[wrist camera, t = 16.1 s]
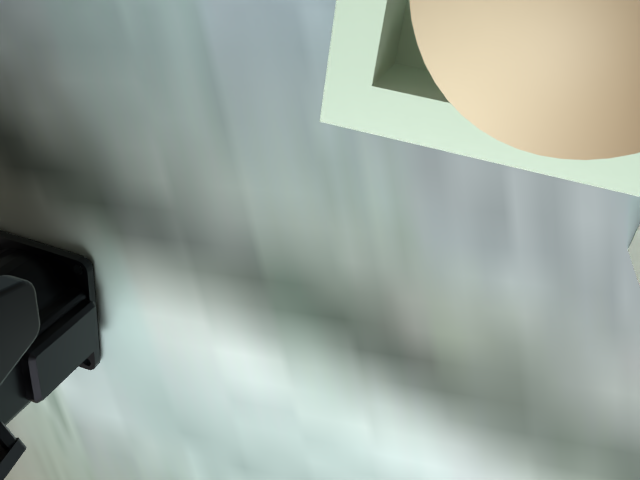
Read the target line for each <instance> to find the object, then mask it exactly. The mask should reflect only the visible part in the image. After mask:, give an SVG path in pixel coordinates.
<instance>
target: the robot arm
mask: <svg viewBox="0 0 640 480" xmlns="http://www.w3.org/2000/svg"><path fill="white" fill-rule="evenodd" d="M80 267H81V268H82V269H81V268H80ZM99 363H100V349H99V336H98V324H97V311H96V298H95V285H94V273H93V266H92V264H91V262H90V261H89V260H88V259H87V258H86V257H84V256H81V255H78V254H74V253H71V252H68V251H65V250H62V249H58V248H55V247H52V246H49V245H45V244H42V243H39V242H36V241H33V240H29V239H26V238H23V237H20V236H17V235H13V234H10V233H7V232H4V231H0V480H4V478H5V477H6V476H7V474H8V473H9V472H10V470H11V469H12V467H13V466H14V465H15V463H16V462H17V461H18V459H19V458H20V456H21V455H22V454H23V452H24V451H25V450H26V446H25V445H24V444H23V442H22V441H21V440H20V439H19V438H15V437H14V435H13V434H12V433H11V432H10V430H9V429H8V428H7V427H6V425H7V424H8V423H9V422H10V421H11V420H12V419H13V418H14V417H15V416H16V415H17V414H18V413H19V412H20V411H21V410H23V409H24V408H25V407H26V406H27V405H28V404H29V403H30V402H31V401H32V402H35V403H39V402H40V401H42V400H44V399H45V398H46V397H47V396H48V395H49V394H50V393H51V392H52V391H53V390H54V389H55V388H56V387H57V386H58V385H59V384H60V383H61V382H63V381H64V380H65V379H66V378H67V377H68V376H69V375H70V374H71V373H72V372H73V371H74V370H75V369H76V368H77V367H78V366H79V367H82V368H85V369H88V370H92V369H94V368H95V367H96V366H97V365H98V364H99Z"/></svg>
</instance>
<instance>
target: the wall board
mask: <svg viewBox="0 0 640 480" xmlns="http://www.w3.org/2000/svg"><path fill="white" fill-rule="evenodd" d="M628 252H629V255H630V258H631V261H632V264H633V267H634V270H635V273H636V276H637V280H638V283H639V286H640V225H639V227H638V229H637V231H636V233H635V235H634V238H633V240H632V242H631V244H630V246H629V248H628Z"/></svg>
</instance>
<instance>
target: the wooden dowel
mask: <svg viewBox="0 0 640 480" xmlns="http://www.w3.org/2000/svg"><path fill="white" fill-rule="evenodd" d="M409 2H410V11H411V20H412V24H413V29H414V33H415V37H416V41H417V44H418V47H419V50H420V52H421V55H422V58H423V60H424V63H425V65H426V67H427V69H428V71H429V72H430V74H431V76H432V78H433V80H434V82H435V83H436V85H437V86H438V88H439V89H440V90H441V92H442V93H443V94H444V96H445V97H446V99H447V100H448V101H449V102H450V103H451V104H452V105H453V106H454V107H455V108H456V110H457V111H458V112H459V113H460V114H461V115H462V116H463V117H465V118H466V119H467V120H468V121H470V122H471V123H472V124H473V125H475V126H476V127H477V128H478V129H480V130H481V131H483V132H485V133H486V134H488V135H490V136H491V137H493V138H495V139H496V140H498V141H500V142H503V143H505V144H507V145H510V146H512V147H514V148H517V149H519V150H523V151H526V152H530V153H533V154H536V155H540V156H547V157H553V158H559V159H573V160H594V159H608V158H615V157H620V156H626V155H631V154H636V153H640V0H409Z"/></svg>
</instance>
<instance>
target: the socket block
mask: <svg viewBox="0 0 640 480" xmlns="http://www.w3.org/2000/svg"><path fill="white" fill-rule="evenodd" d="M320 122H323V123H328V124H332V125H336V126H340V127H345V128H349V129H353V130H357V131H362V132H366V133H370V134H374V135H379V136H383V137H387V138H391V139H396V140H400V141H404V142H409V143H413V144H417V145H421V146H426V147H430V148H434V149H438V150H443V151H447V152H451V153H455V154H460V155H464V156H468V157H472V158H477V159H481V160H485V161H489V162H494V163H498V164H502V165H507V166H511V167H515V168H519V169H524V170H528V171H532V172H536V173H541V174H545V175H549V176H553V177H558V178H562V179H566V180H570V181H575V182H579V183H583V184H587V185H592V186H596V187H600V188H604V189H609V190H613V191H617V192H622V193H626V194H630V195H634V196H639V197H640V153H636V154H631V155H626V156H620V157H615V158H608V159H594V160H573V159H559V158H553V157H547V156H540V155H536V154H533V153H530V152H526V151H523V150H519V149H517V148H514V147H512V146H510V145H507V144H505V143H503V142H500V141H498V140H496V139H495V138H493V137H491V136H490V135H488V134H486V133H485V132H483V131H481V130H480V129H478V128H477V127H476V126H475V125H473V124H472V123H471V122H470V121H468V120H467V119H466V118H465V117H463V116H462V115H461V114H460V113H459V112H458V111H457V110H456V108H455V107H454V106H453V105H452V104H451V103H450V102H449V101H448V100H447V99H446V97H445V96H444V94H443V93H442V92H441V90H440V89H439V88H438V86H437V85H436V83H435V82H434V80H433V78H432V76H431V74H430V72H429V71H428V69H427V67H426V65H425V63H424V60H423V58H422V55H421V52H420V50H419V47H418V44H417V41H416V37H415V33H414V29H413V24H412V20H411V11H410V2H409V0H336V7H335V14H334V21H333V28H332V36H331V43H330V50H329V57H328V65H327V72H326V79H325V86H324V94H323V101H322V108H321V116H320Z"/></svg>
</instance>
